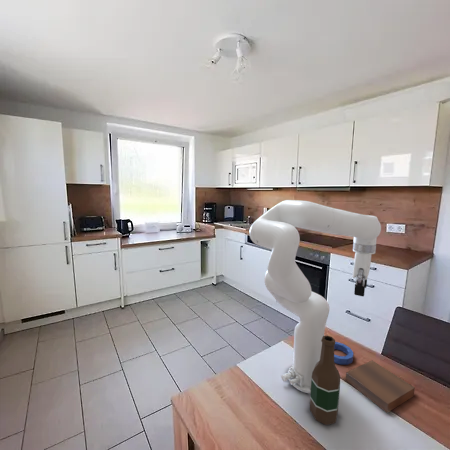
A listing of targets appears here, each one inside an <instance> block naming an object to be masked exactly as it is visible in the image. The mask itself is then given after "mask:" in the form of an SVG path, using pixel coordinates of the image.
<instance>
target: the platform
mask: <svg viewBox="0 0 450 450" xmlns="http://www.w3.org/2000/svg"><path fill="white" fill-rule="evenodd" d="M345 381H346V382H347V383H348V384H349V385H351V386H352V387H353V388H355V389H356V390H357V391H359V392H360V393H361V394H362V395H364V396H365V397H366V398H367V399H368V400H369V401H371V402H372V403H373V404H375V405H376V406H377V407H379V409H381V410H382V411H384V412H385V413H386V414H388V413H390V412H391V411H392V410H395V409H396V408H397V407H399V406H401V405H402V404H404V403H405V402H407V401H408V400H411V399H412V398H413V397H414V396H415V392H416V391H415V390H416V387H414V386H413V385H412V384H411V383H408V382H407V381H405V380H404V379H403V378H401V377H399V376H398V375H396V374H395V373H393V372H391V371H390V370H388V369H387V368H385V367H384V366H382V365H380V364H379V363H378V362H376V361H374V360H372V359H371V360H370V361H366V363H365V362H364V363H362V364H361V365H359V366H357V367H354V368H353V369H350V370H348V371H346V372H345Z"/></svg>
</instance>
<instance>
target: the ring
mask: <svg viewBox="0 0 450 450" xmlns="http://www.w3.org/2000/svg"><path fill="white" fill-rule="evenodd" d="M335 342H336V343H335V345H334V350H338V351H341V352H342V353H344V354H346V355H337V354H335V353H334V362H335V364H337V365H340V366H341V365H342V366H344V365H345V366H348V365H350V364H352V363H353V361H354V351H353V350H352V349H351V347H350V346H348V345H346V344H345V343H342V342H339V341H335Z"/></svg>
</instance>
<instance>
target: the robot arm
mask: <svg viewBox="0 0 450 450" xmlns="http://www.w3.org/2000/svg"><path fill="white" fill-rule="evenodd" d="M298 229H302V230H307V231H313V232H318V233H324V234H329V235H336V236H346V237H351V238H353V242H352V252H353V253H354V257H353V266H352V267H353V269H352V278H353V279H355V284H354V292H353V293H354V295H355V296H358V297H364V296H365V289H367V286H368V285H367V284H368V278H369V274H370V270H371V263H372V255H375V254H376V252H377V251H376V250H377V239H378V237H379V236H380V234H381V233H382V224H381V223H380V221H379V218H378V217H377V216H376V215H371V214H370V215H369V214H362V213H357V212H353V211H349V210H345V209H340V208H334V207H331V206H327V205H325V204H324V205H323V204H321V203H316V202H313V201H309V200H297V199H284V200H282V201H280V202H278V203H277V204H276V205H274V206H272V207H271V208H270V209H268V210H267V211H266V212H264V213H263V214H262V215H261V216H259V217H258V218H257V219H255V220H254V222H253V223H252V224H251V226H250V228H249V238H250V240H251V241H252V243H253V244H255V245H257V246H258V247H262V248H265V249H268V250H270V251H271V253H270V256H269V259H268V262H267V265H266V266H267V267H266V272H265V274H264V285H265V288H266V289H267V291H268V292H269V293H270V295H271V296H272V297H273V298H274V299H275V300H276V301H277V303H278V304H279V305H280V306H281V307H282V308H284V309H285V310H287V311H288V312H290V313H291V314H294V315H295V316H297V317H298V318H299V321H298V323H297V324H296V325H295V326H294V330H293V353H292V365H291V366H290V367H289V368H288V370H287V373H283V374H281V375H280V377H281V380H282V382H283V383H284V382H287V381H289V383H290V385H292V386H293V387H294V388H295V389H296V390H298V391H300V392H301V393H305V394H309V395H311V378H312V372H313V370H314V367H315V365H316V363H317V362H318V361H320V355H321V348H322V341H321V340H322V338H323V336H325V333H326V331H325V330H326V325H327V322H328V318H329V314H330V304H329V302H328V301H327V299H326V298H324V296H322V295H321V294H319V293H317V292H315V291H313V290H312V286H311V283H310V281H309V279H308V278H307V277H306V276H305V274H304V273H303V271H302V270H301V269H300V267H299V266H298V264H297V263H296V256H297V253H298V250H299V246H300V243H301V242H300V240H301V239H300V237H301V236H300V232H299V231H298Z"/></svg>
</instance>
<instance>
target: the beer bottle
mask: <svg viewBox="0 0 450 450" xmlns="http://www.w3.org/2000/svg"><path fill="white" fill-rule="evenodd" d="M321 341H322V348H321V355H320V361H318V362H317V363H316V365H315V367H314V370H313V372H312V378H311V394H310V399H309V411H310V413H311V414H312V416H313V418H314V419H315V421H317V422H319V423H321V424H323V425H325V426H329V425H335V424H336V422H337V418H338V413H339V404H340V392H341V375H340V372H339V369H338V368H337V366H336V363H335V362H334V354H335V349H334V345H335V343H336V342H337V341H336V339H335V338H334V337H333V336H331V335H324V336H323V338H322V340H321Z"/></svg>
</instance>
